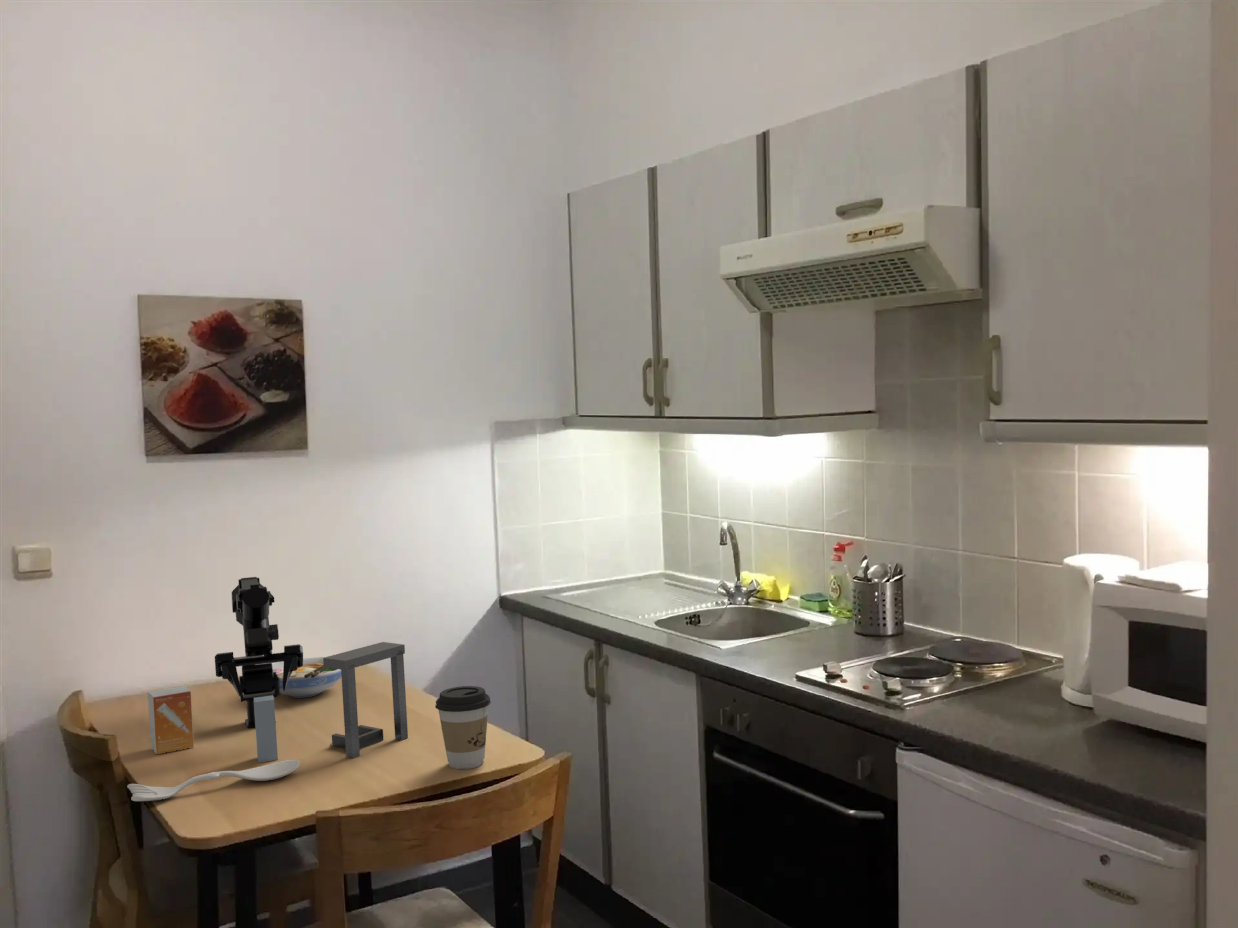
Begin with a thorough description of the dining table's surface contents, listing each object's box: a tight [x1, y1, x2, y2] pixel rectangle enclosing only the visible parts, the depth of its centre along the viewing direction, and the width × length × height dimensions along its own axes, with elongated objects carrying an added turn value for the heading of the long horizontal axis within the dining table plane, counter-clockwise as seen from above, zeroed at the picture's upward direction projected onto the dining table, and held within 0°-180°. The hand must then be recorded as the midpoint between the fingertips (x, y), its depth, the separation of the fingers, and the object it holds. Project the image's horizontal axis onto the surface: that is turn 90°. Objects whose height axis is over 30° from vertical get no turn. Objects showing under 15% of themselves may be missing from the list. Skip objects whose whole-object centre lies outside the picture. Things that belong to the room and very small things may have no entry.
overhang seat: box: [323, 641, 409, 759], centre depth 242 cm, size 12×17×21 cm
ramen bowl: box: [272, 656, 342, 699], centre depth 289 cm, size 25×23×8 cm
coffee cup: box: [435, 685, 492, 770], centre depth 225 cm, size 11×11×15 cm
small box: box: [147, 685, 195, 755], centre depth 245 cm, size 8×6×13 cm
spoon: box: [127, 759, 301, 802], centre depth 217 cm, size 9×32×4 cm, turn 119°
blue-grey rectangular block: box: [254, 695, 279, 763], centre depth 235 cm, size 4×4×13 cm
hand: (262, 692), depth 241 cm, fingers open, 9 cm apart
